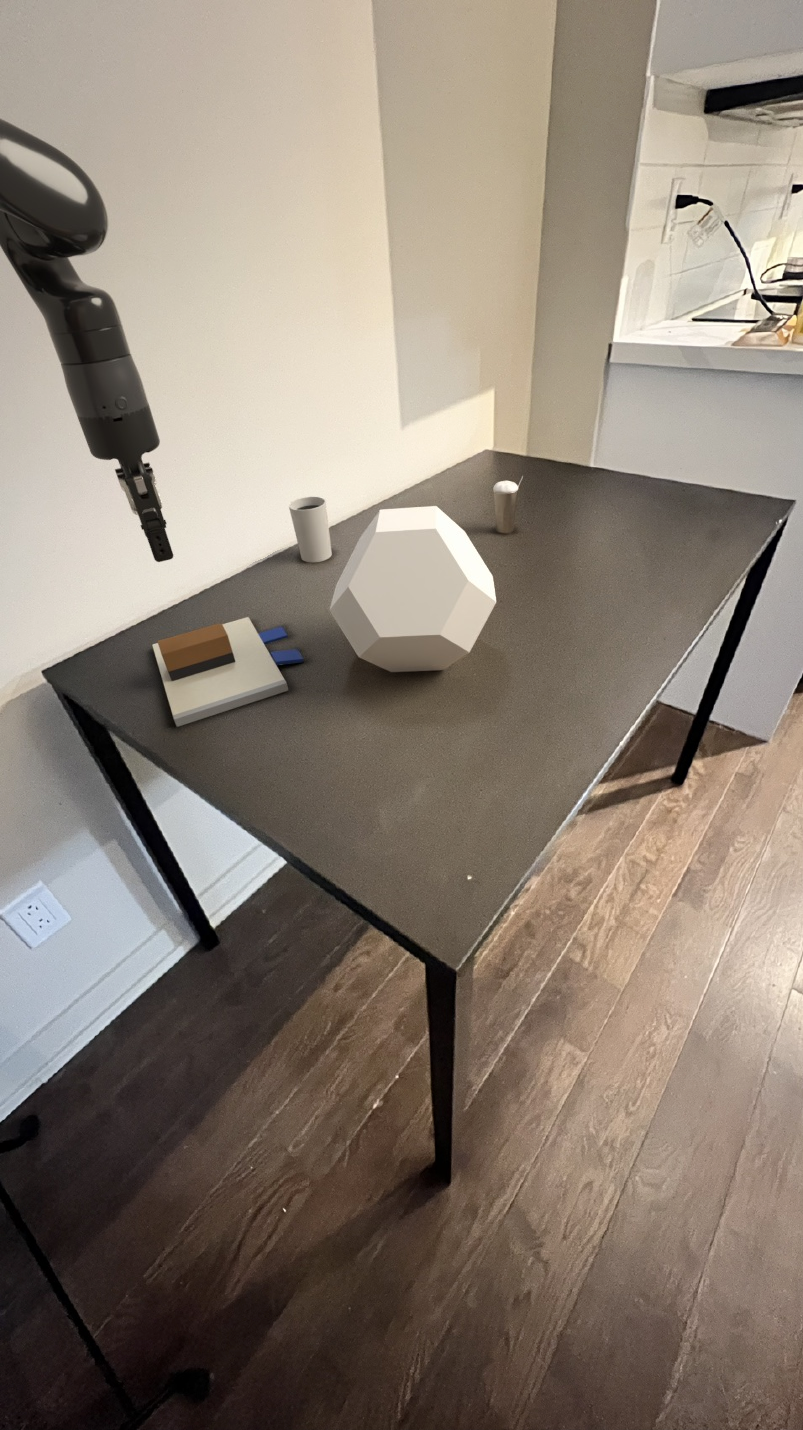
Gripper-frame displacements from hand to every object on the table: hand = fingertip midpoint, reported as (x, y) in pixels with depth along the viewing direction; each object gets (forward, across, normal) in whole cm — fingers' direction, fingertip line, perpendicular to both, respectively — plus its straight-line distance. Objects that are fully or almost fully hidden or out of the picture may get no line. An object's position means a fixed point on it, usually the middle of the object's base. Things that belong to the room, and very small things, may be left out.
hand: (159, 547), depth 77 cm
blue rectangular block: (+18, +4, +12) cm, 22 cm away
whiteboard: (+19, 0, +2) cm, 19 cm away
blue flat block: (+19, -4, +12) cm, 23 cm away
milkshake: (+19, -17, +62) cm, 67 cm away
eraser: (+18, 0, 0) cm, 18 cm away
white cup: (+19, -28, +27) cm, 43 cm away
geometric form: (+19, +13, +28) cm, 36 cm away
